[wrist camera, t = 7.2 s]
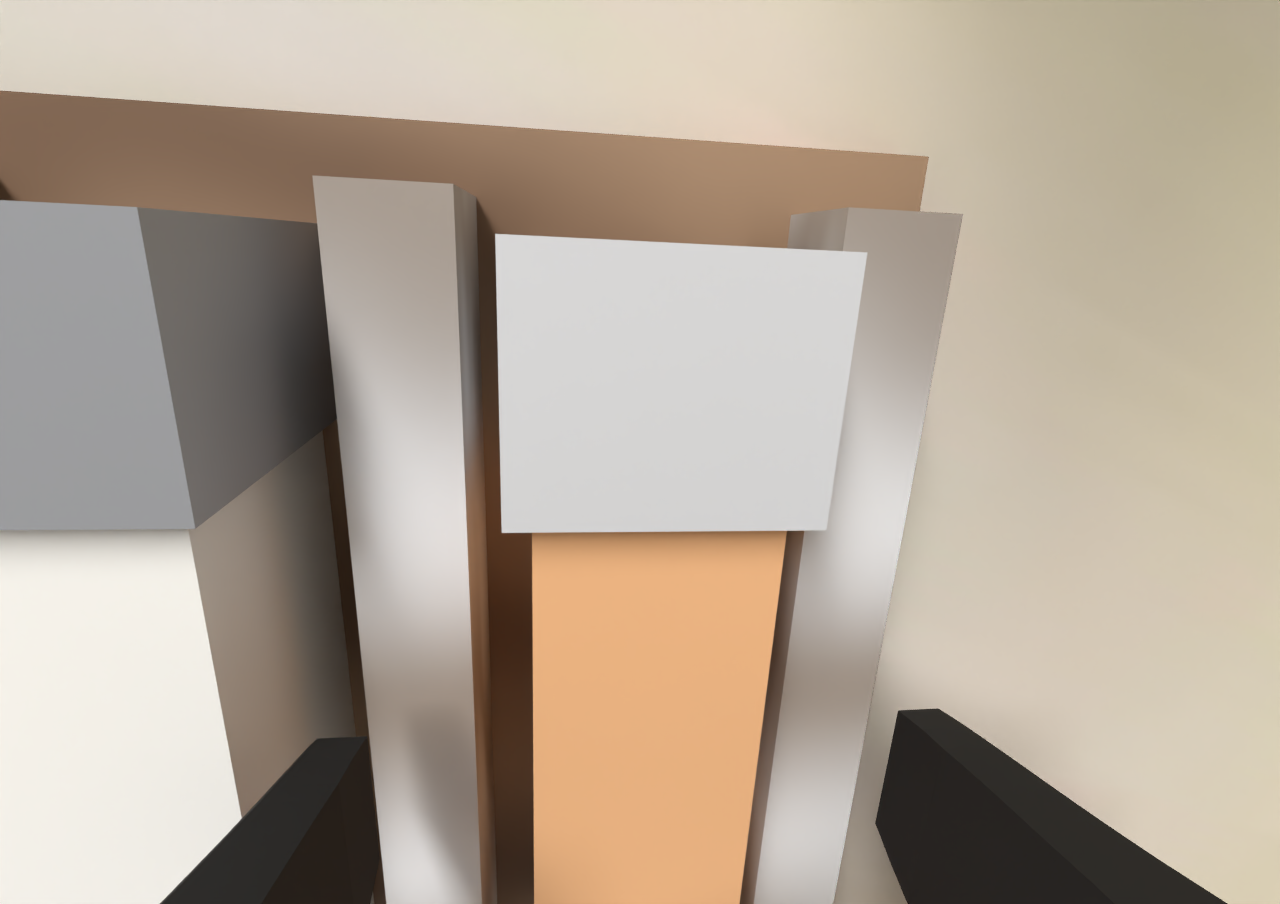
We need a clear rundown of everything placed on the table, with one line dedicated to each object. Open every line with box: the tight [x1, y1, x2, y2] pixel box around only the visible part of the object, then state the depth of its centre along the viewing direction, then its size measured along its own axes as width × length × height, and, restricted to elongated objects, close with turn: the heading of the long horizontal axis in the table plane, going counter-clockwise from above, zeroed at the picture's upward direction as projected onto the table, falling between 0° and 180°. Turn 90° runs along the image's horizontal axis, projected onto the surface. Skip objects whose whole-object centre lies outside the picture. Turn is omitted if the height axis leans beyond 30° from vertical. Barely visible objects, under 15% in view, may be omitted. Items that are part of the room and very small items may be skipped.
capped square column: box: [495, 234, 867, 904], centre depth 10 cm, size 14×4×4 cm, turn 177°
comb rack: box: [0, 91, 963, 904], centre depth 11 cm, size 18×16×3 cm
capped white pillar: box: [0, 200, 374, 904], centre depth 9 cm, size 14×4×4 cm, turn 177°
